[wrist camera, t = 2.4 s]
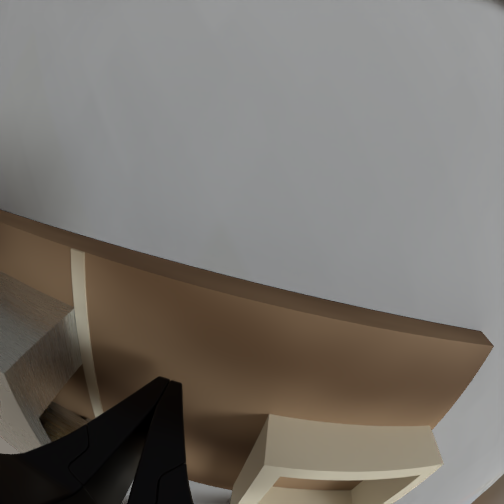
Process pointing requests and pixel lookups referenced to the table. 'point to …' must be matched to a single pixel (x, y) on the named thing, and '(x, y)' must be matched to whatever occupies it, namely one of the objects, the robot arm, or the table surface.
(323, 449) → the socket
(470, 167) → the table surface
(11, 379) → the cover
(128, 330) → the board
